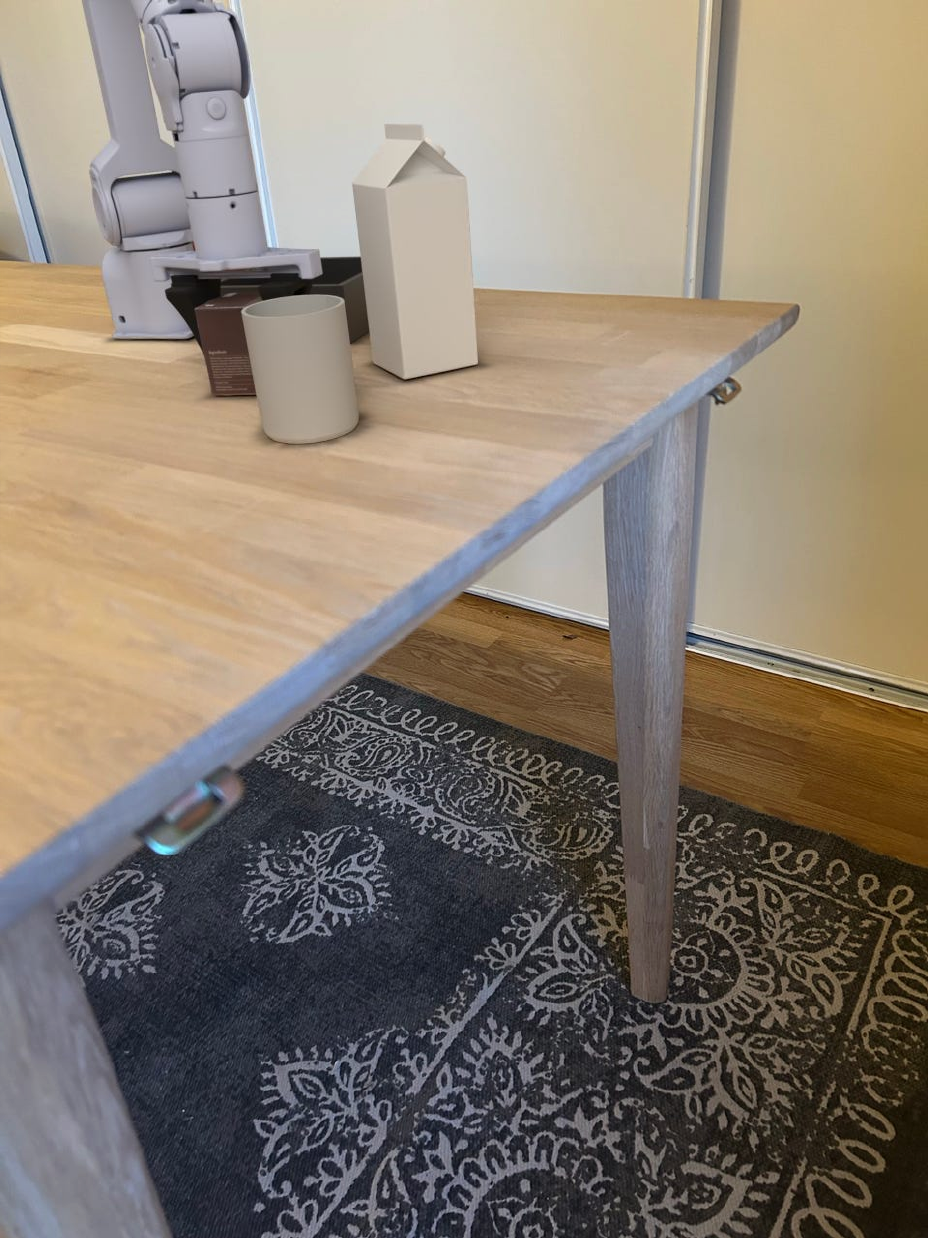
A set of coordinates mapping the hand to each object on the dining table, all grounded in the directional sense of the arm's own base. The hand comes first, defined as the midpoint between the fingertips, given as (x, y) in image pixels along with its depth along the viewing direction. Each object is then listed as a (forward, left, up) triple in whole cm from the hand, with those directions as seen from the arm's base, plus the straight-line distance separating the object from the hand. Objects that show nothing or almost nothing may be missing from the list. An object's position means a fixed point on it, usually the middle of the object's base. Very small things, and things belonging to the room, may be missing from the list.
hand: (253, 366), depth 81 cm
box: (0, 0, -2) cm, 2 cm away
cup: (+9, -9, -2) cm, 13 cm away
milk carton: (+13, +7, -2) cm, 15 cm away
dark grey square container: (-5, +22, -2) cm, 23 cm away
